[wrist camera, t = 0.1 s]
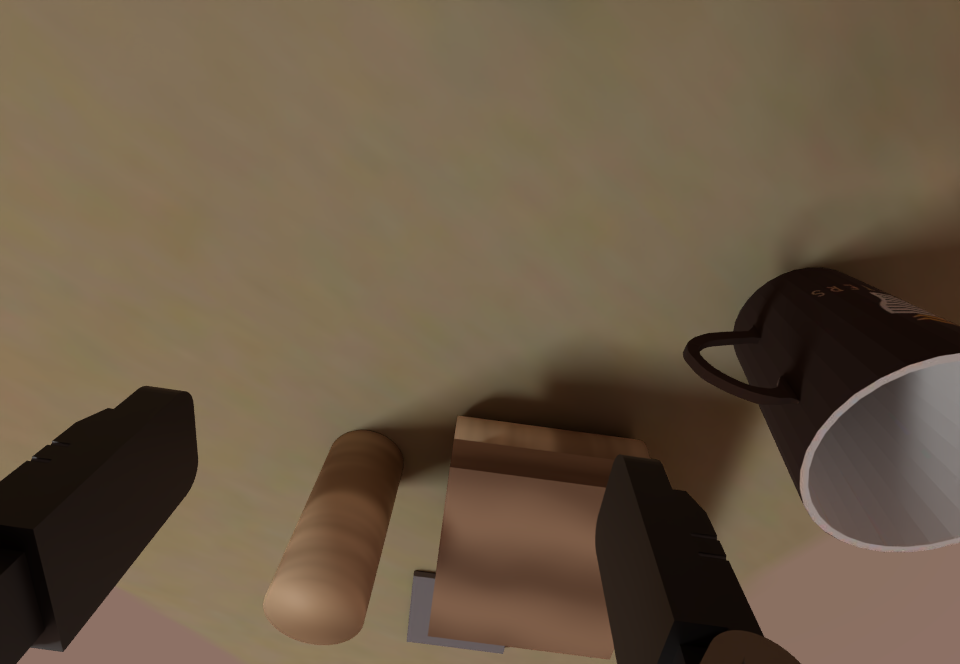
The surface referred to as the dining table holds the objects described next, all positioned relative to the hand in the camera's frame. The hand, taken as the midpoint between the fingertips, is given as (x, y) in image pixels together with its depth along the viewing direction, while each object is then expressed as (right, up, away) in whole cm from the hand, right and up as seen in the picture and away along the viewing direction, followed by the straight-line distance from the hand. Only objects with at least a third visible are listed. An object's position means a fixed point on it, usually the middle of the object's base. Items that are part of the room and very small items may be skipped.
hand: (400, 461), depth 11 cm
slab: (+5, -6, +23) cm, 24 cm away
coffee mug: (+16, +4, +17) cm, 24 cm away
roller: (-5, -5, +22) cm, 24 cm away
